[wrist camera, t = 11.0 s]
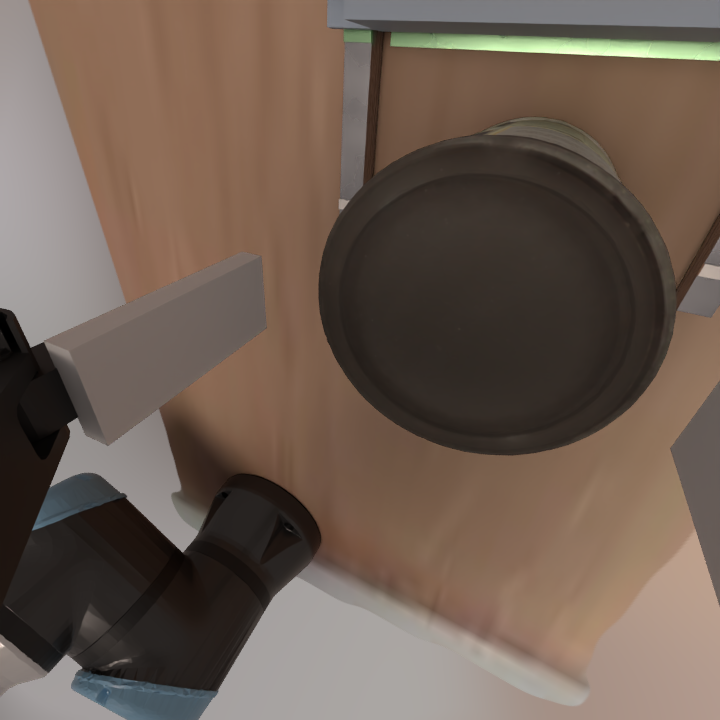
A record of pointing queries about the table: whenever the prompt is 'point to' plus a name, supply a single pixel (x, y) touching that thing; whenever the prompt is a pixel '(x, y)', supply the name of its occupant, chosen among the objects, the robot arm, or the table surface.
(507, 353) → the coffee can
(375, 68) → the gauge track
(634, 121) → the table surface
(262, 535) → the robot arm
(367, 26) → the carriage
